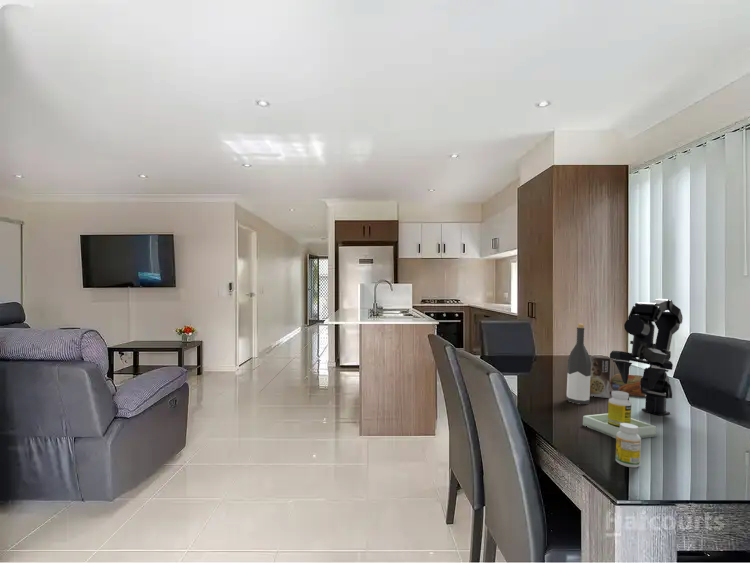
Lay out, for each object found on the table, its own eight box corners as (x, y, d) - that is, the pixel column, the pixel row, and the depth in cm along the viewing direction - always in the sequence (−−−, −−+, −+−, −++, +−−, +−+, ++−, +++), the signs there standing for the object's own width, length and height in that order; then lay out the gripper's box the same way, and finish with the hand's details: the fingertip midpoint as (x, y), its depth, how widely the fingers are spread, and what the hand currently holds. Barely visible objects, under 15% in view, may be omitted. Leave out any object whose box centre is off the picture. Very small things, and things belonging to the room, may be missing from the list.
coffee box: (606, 394, 178) (608, 355, 178) (609, 398, 172) (611, 358, 172) (582, 392, 181) (583, 353, 181) (584, 395, 175) (586, 356, 175)
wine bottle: (590, 401, 167) (593, 324, 167) (588, 406, 160) (591, 325, 160) (568, 397, 171) (571, 322, 171) (564, 402, 164) (567, 323, 164)
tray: (614, 421, 142) (615, 412, 142) (655, 436, 129) (656, 426, 129) (582, 425, 137) (583, 415, 137) (622, 441, 124) (622, 430, 124)
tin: (610, 392, 182) (610, 372, 182) (609, 391, 185) (609, 371, 185) (651, 397, 177) (652, 377, 177) (649, 395, 180) (650, 375, 180)
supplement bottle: (637, 470, 105) (639, 430, 105) (613, 463, 108) (614, 425, 108) (641, 463, 109) (643, 425, 109) (617, 457, 112) (619, 420, 112)
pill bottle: (628, 432, 129) (629, 396, 129) (605, 427, 133) (606, 392, 133) (632, 428, 134) (633, 392, 134) (610, 423, 138) (611, 388, 138)
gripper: (634, 334, 136) (628, 384, 133) (688, 345, 137) (683, 394, 135) (611, 334, 147) (605, 379, 145) (661, 344, 148) (657, 390, 146)
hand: (638, 386), depth 142 cm, fingers open, 9 cm apart
